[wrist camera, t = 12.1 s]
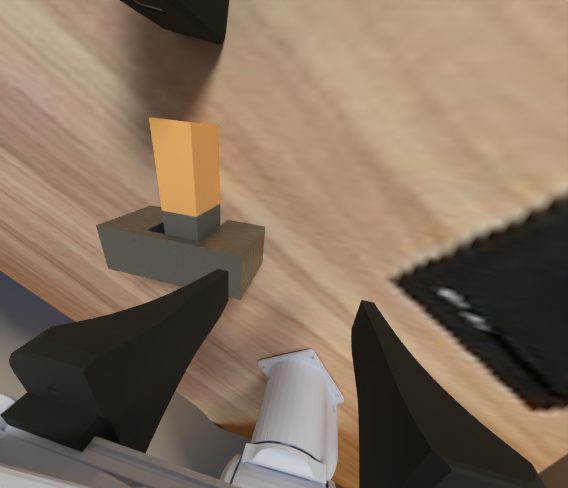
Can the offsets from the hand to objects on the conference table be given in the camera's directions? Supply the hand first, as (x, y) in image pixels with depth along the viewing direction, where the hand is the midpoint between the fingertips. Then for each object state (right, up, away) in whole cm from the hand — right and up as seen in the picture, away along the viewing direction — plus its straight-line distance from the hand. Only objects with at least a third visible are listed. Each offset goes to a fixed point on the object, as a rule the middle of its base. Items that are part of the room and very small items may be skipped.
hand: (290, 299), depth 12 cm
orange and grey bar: (-8, +7, +9) cm, 14 cm away
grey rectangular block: (-8, +4, +11) cm, 14 cm away
